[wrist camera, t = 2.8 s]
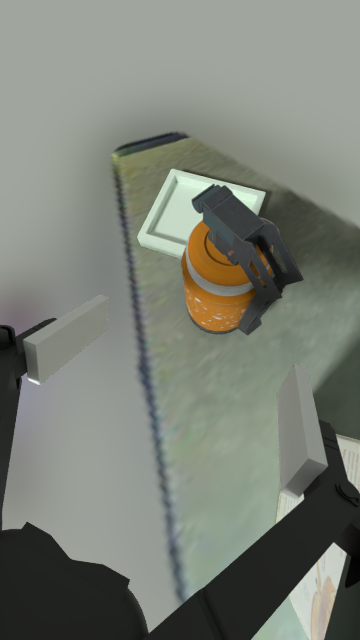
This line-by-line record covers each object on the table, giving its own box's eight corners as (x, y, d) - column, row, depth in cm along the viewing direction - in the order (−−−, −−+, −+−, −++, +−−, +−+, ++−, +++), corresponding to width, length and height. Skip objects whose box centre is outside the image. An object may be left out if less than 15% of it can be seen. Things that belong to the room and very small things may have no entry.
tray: (262, 204, 42) (265, 192, 39) (235, 276, 38) (237, 268, 36) (173, 180, 44) (171, 168, 42) (140, 246, 41) (137, 236, 39)
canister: (220, 267, 39) (240, 143, 20) (271, 320, 36) (354, 233, 17) (175, 302, 38) (150, 206, 19) (224, 359, 35) (254, 315, 16)
